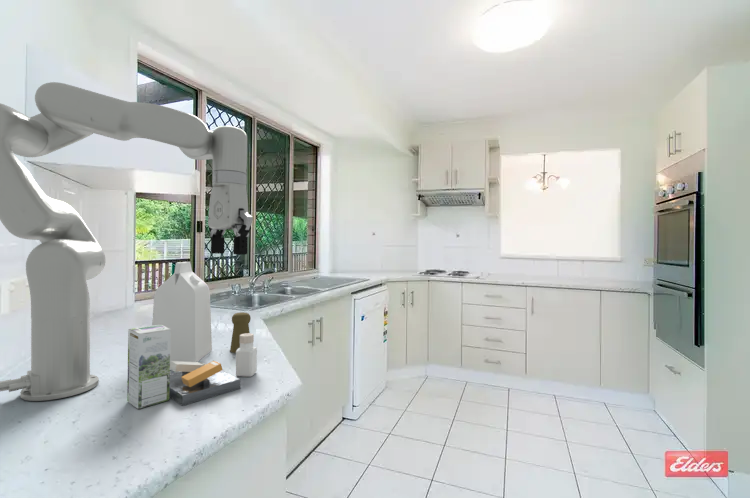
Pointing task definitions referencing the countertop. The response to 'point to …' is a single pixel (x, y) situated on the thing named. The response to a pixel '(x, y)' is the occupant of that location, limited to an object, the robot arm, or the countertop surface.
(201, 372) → the rocker orange
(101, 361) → the countertop surface
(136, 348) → the syrup box
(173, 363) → the rocker white
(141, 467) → the countertop surface
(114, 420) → the countertop surface
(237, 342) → the pepper shaker
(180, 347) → the milk
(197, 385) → the breaker panel
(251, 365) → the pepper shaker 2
